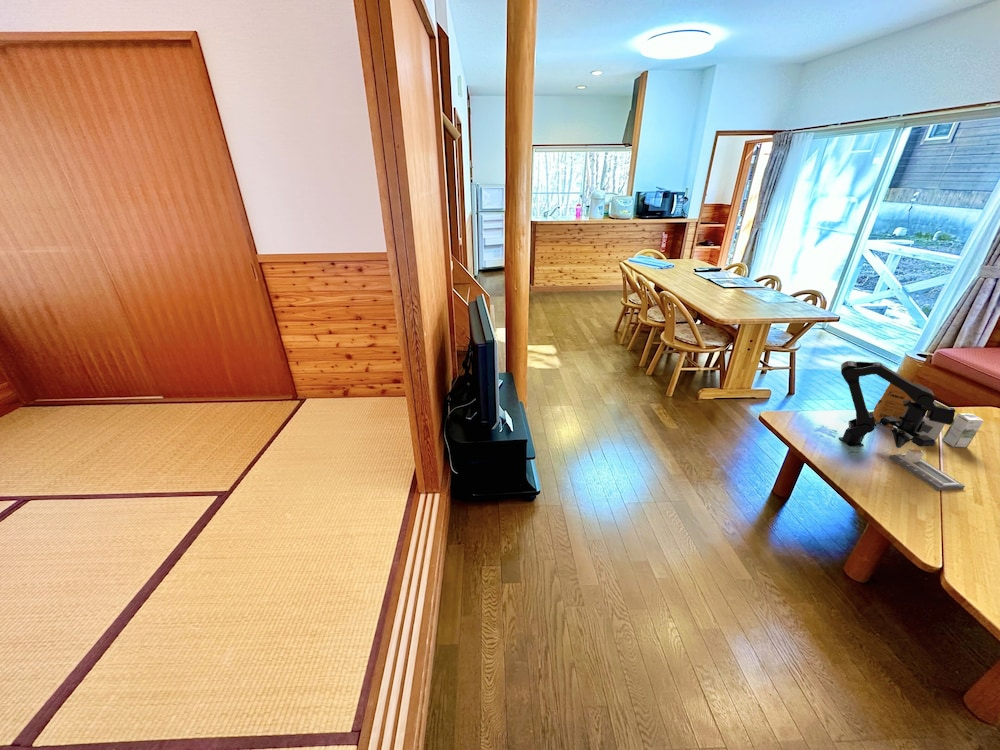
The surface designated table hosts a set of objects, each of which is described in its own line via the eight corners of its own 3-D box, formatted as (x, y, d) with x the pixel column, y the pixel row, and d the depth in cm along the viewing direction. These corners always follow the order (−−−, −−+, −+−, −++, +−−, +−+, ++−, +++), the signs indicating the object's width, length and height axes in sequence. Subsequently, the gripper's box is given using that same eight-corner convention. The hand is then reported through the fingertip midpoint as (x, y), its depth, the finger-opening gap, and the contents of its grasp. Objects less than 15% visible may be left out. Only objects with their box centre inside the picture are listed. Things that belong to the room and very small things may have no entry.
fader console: (937, 490, 151) (940, 485, 150) (889, 457, 169) (891, 453, 168) (963, 489, 151) (966, 484, 150) (912, 456, 169) (914, 452, 168)
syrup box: (955, 440, 178) (971, 412, 172) (968, 448, 173) (984, 420, 167) (941, 439, 179) (956, 412, 172) (953, 447, 174) (969, 419, 167)
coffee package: (872, 413, 200) (889, 374, 190) (905, 423, 191) (925, 383, 182) (868, 421, 194) (885, 381, 185) (902, 431, 186) (922, 390, 176)
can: (939, 444, 176) (952, 421, 171) (919, 442, 178) (931, 419, 172) (927, 434, 183) (938, 412, 178) (908, 433, 184) (919, 411, 179)
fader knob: (910, 462, 163) (915, 452, 161) (903, 458, 166) (908, 448, 164) (919, 462, 163) (924, 452, 161) (912, 457, 166) (917, 448, 164)
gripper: (956, 428, 155) (938, 460, 162) (910, 404, 172) (895, 434, 178) (929, 429, 155) (912, 461, 161) (885, 405, 171) (871, 435, 178)
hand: (897, 447), depth 170 cm, fingers closed
